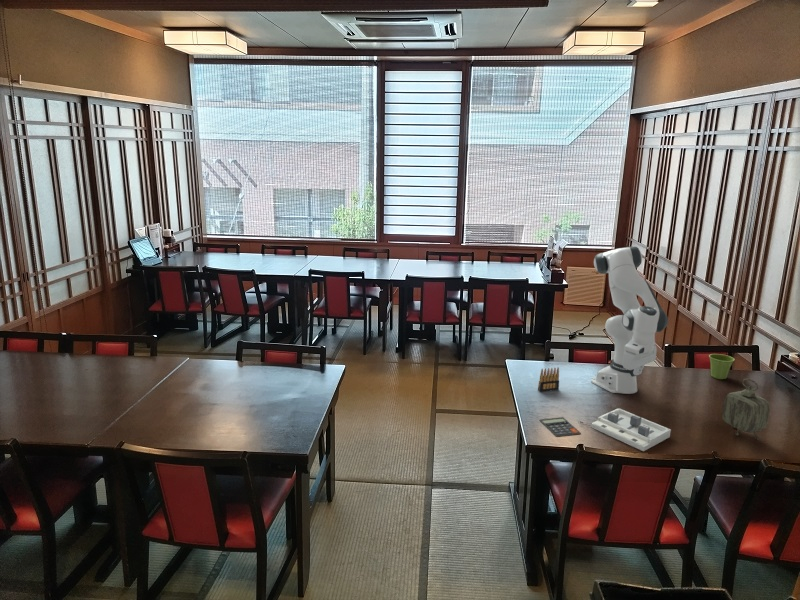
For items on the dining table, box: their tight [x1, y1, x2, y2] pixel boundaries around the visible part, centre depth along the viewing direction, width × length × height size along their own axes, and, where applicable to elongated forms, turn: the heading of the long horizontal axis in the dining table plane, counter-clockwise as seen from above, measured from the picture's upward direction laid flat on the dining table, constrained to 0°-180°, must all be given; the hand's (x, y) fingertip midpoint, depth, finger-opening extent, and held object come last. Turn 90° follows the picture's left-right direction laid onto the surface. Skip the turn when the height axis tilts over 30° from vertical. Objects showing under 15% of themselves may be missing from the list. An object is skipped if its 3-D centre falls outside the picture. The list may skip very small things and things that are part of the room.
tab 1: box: [608, 411, 619, 423], centre depth 229 cm, size 3×3×4 cm
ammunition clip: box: [537, 366, 560, 393], centre depth 265 cm, size 11×2×12 cm, turn 104°
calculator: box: [539, 416, 582, 438], centre depth 229 cm, size 12×1×15 cm
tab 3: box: [638, 425, 650, 437], centre depth 218 cm, size 3×3×4 cm
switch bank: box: [590, 407, 672, 452], centre depth 225 cm, size 24×20×4 cm
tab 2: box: [630, 414, 643, 427], centre depth 227 cm, size 3×3×4 cm
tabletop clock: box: [721, 378, 771, 440], centre depth 222 cm, size 14×9×25 cm, turn 20°
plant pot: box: [708, 353, 735, 380], centre depth 284 cm, size 12×12×11 cm
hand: (637, 374), depth 231 cm, fingers closed
